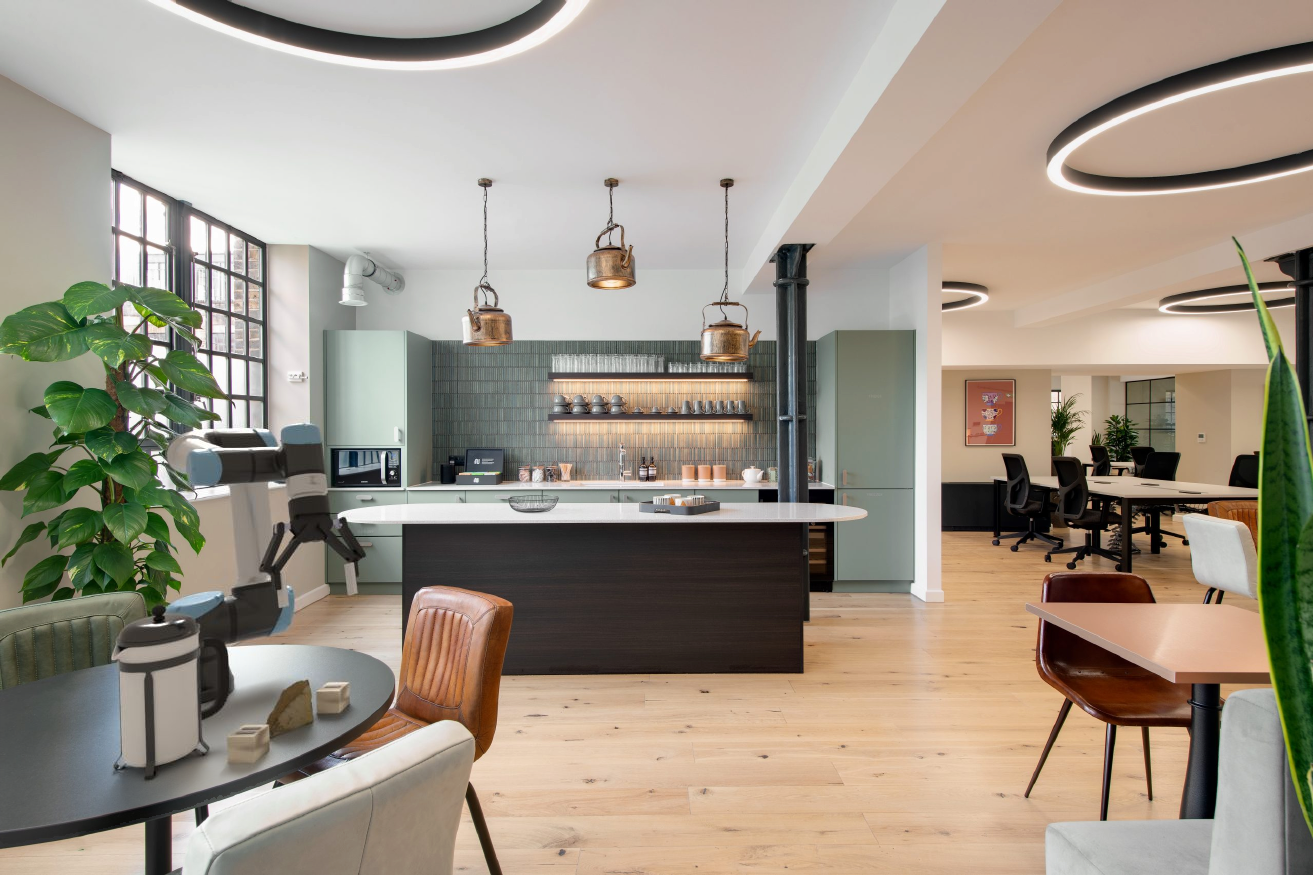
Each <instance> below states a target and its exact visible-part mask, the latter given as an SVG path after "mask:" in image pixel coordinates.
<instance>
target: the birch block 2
mask: <svg viewBox="0 0 1313 875" xmlns="http://www.w3.org/2000/svg"><path fill="white" fill-rule="evenodd" d="M350 694H351V693H350V682H349V681H347V682H346V681H344V682H343V681H342V682H341V681H339V682H332V681H331V682H326V683H325V684H323V686H321V687H320V688H319V689H318V690H316V692H315V698H316V700H315V701H316V714H340V713H341V712H342V711H343V710H345V708H347V707H348V706H349V705H350V703H351V701H350V699H351V698H350Z"/></svg>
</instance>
